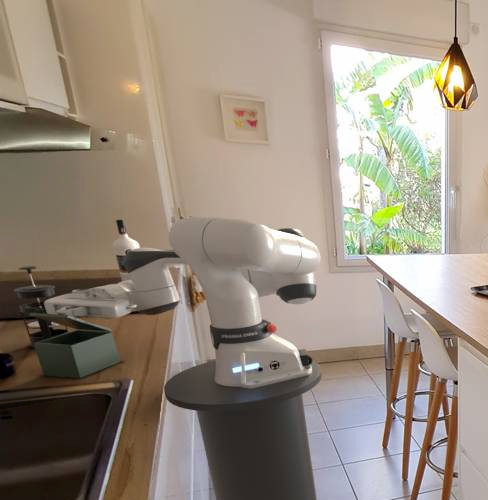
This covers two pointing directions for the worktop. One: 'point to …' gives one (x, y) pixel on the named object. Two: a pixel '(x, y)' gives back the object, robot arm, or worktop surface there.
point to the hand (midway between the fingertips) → (61, 314)
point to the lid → (70, 322)
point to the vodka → (123, 248)
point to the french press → (38, 310)
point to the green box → (77, 353)
